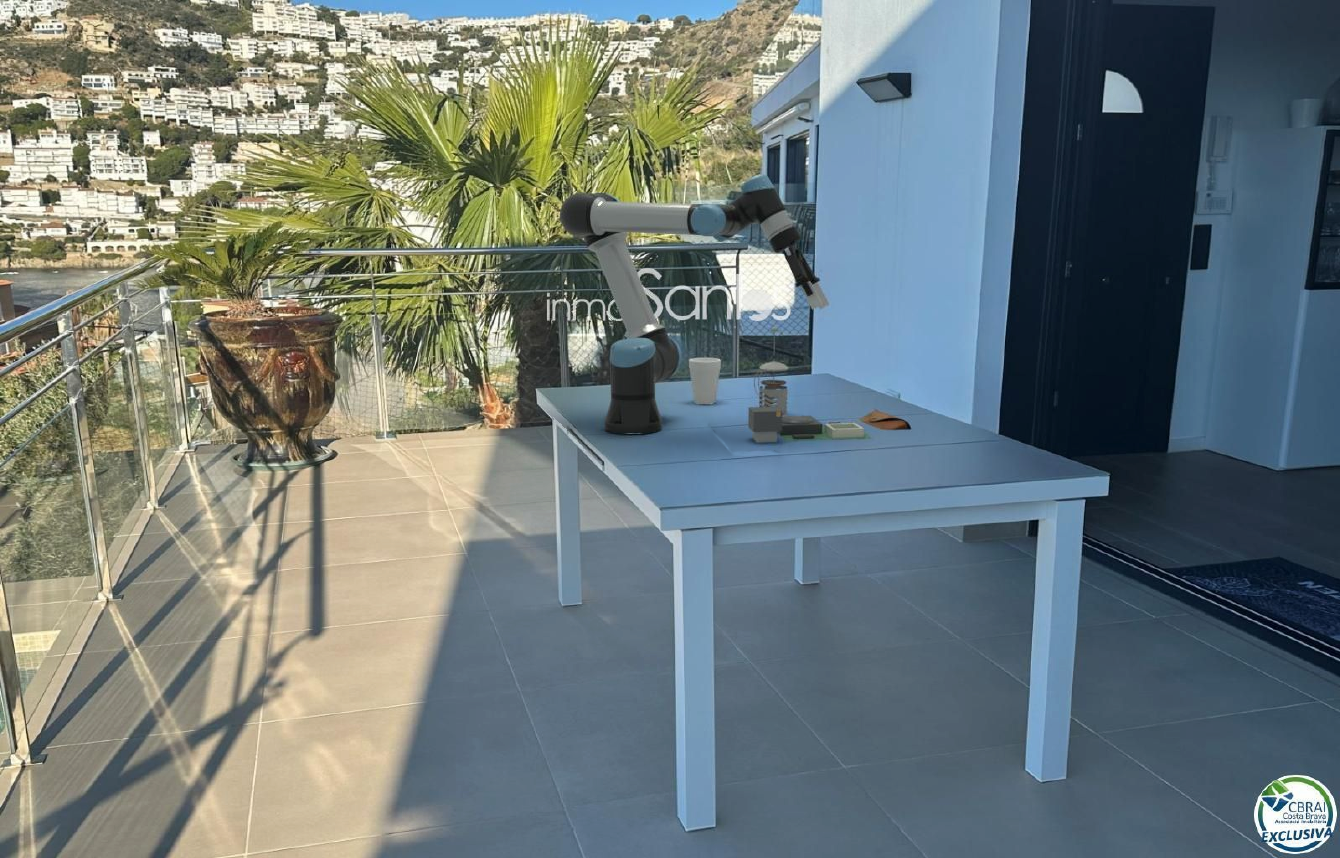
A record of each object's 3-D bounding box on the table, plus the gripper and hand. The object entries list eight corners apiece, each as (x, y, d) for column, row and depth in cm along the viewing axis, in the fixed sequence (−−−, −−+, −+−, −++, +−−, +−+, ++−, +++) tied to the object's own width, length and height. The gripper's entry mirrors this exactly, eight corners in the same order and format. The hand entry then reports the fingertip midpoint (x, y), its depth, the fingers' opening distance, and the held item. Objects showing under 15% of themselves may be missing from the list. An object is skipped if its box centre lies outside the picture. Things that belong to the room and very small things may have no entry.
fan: (779, 435, 258) (779, 424, 257) (769, 426, 269) (769, 416, 268) (822, 433, 259) (822, 423, 259) (810, 424, 270) (810, 414, 270)
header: (832, 438, 254) (832, 429, 254) (824, 432, 261) (824, 423, 261) (863, 437, 255) (863, 428, 255) (854, 431, 262) (855, 422, 262)
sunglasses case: (849, 422, 279) (860, 400, 279) (868, 433, 281) (880, 412, 281) (882, 436, 262) (895, 413, 262) (902, 447, 265) (915, 425, 265)
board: (786, 446, 251) (786, 434, 251) (769, 430, 269) (769, 420, 268) (873, 442, 254) (873, 431, 254) (850, 428, 272) (851, 417, 271)
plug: (753, 448, 249) (753, 412, 247) (748, 442, 255) (748, 407, 253) (781, 447, 250) (782, 411, 248) (775, 441, 256) (776, 406, 254)
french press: (773, 421, 282) (775, 329, 276) (743, 414, 290) (744, 326, 285) (797, 416, 288) (799, 327, 283) (767, 410, 296) (769, 323, 291)
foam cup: (726, 401, 310) (726, 359, 307) (710, 406, 302) (710, 363, 299) (699, 399, 315) (699, 356, 312) (683, 403, 307) (683, 360, 304)
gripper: (786, 221, 246) (828, 299, 245) (802, 228, 270) (840, 299, 269) (758, 237, 248) (800, 314, 247) (777, 242, 272) (815, 313, 271)
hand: (821, 307), depth 258 cm, fingers open, 13 cm apart
